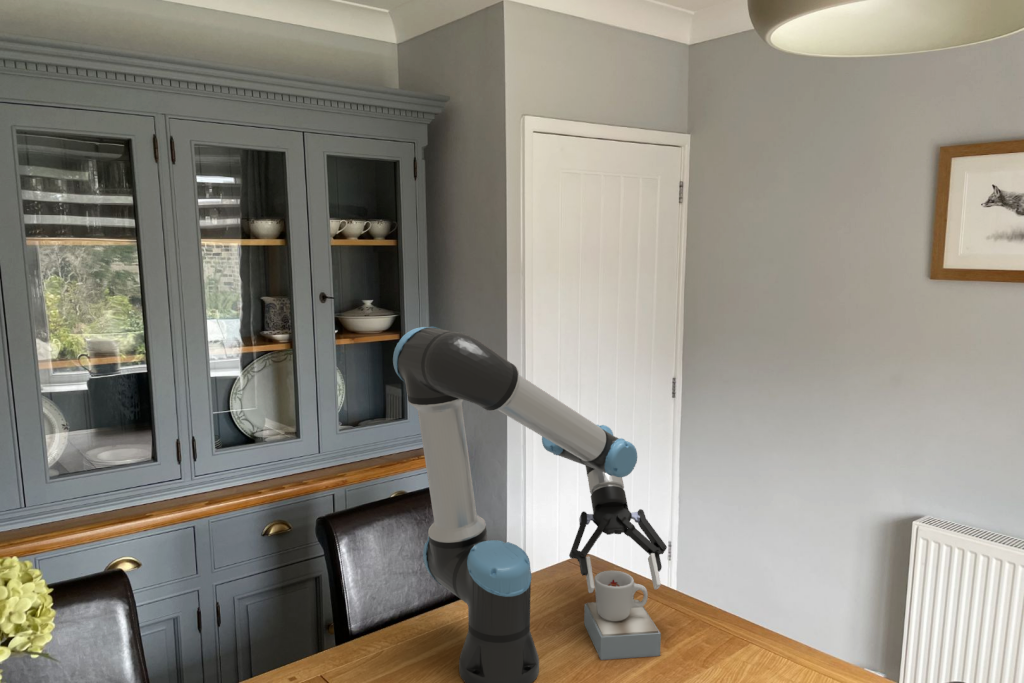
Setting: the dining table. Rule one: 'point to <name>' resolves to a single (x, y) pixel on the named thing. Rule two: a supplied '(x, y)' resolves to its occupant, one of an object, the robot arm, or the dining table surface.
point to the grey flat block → (622, 634)
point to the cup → (616, 595)
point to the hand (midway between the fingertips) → (624, 588)
